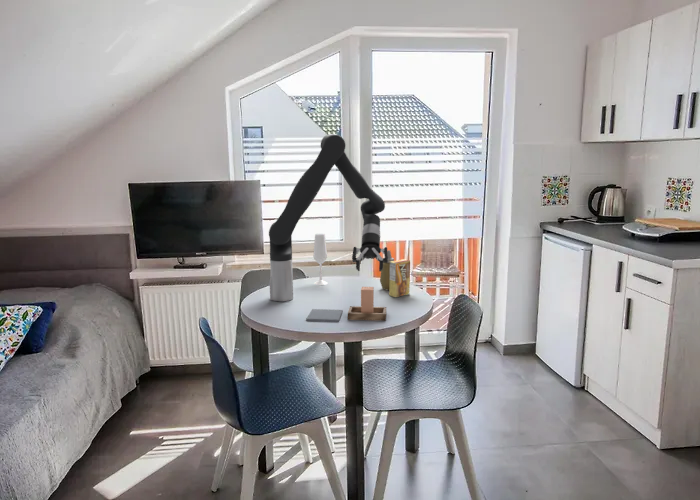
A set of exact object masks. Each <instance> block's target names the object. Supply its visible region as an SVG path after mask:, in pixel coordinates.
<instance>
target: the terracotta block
mask: <svg viewBox="0 0 700 500" xmlns="http://www.w3.org/2000/svg"><path fill="white" fill-rule="evenodd" d="M374 288H375V287H374V286H361V288H360V306H361V313H374V307H375V305H374V298H375V297H374V296H375V295H374V290H375V289H374Z"/></svg>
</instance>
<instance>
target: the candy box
mask: <svg viewBox="0 0 700 500" xmlns="http://www.w3.org/2000/svg"><path fill="white" fill-rule="evenodd" d="M410 275H411V260H409V259H406V258H402V259H397V260H394V261H391V262H390V284H389V290H388V291H389V292H388V293H389V297H393V298H398V297H402V296H406V295H410V288H411V287H410V286H411V285H410V282H411V277H410Z"/></svg>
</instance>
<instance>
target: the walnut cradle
mask: <svg viewBox="0 0 700 500" xmlns="http://www.w3.org/2000/svg"><path fill="white" fill-rule="evenodd" d="M347 320H349V321H379V322H380V321H381V322H382V321H383V322H386V320H387V306H374V313H361V305H360V306H359V305H356V306H355V305H352V306H349V307H348V311H347Z"/></svg>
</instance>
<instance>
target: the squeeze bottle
mask: <svg viewBox="0 0 700 500" xmlns="http://www.w3.org/2000/svg"><path fill="white" fill-rule="evenodd" d="M387 254H388V262H387V263H383V270H381V271H380V275H379V277H380V278H379V282H380V285H381V289H382V290H385V291H389V284H390V262H391V261H395V258H394V257H392V252H391V250H390V249H387Z"/></svg>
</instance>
